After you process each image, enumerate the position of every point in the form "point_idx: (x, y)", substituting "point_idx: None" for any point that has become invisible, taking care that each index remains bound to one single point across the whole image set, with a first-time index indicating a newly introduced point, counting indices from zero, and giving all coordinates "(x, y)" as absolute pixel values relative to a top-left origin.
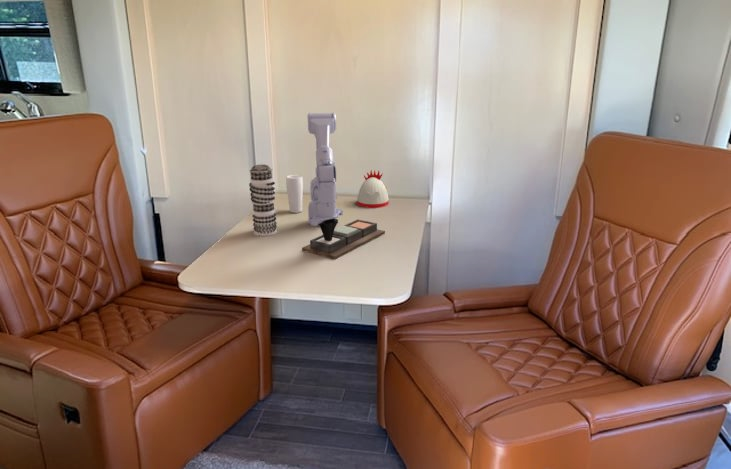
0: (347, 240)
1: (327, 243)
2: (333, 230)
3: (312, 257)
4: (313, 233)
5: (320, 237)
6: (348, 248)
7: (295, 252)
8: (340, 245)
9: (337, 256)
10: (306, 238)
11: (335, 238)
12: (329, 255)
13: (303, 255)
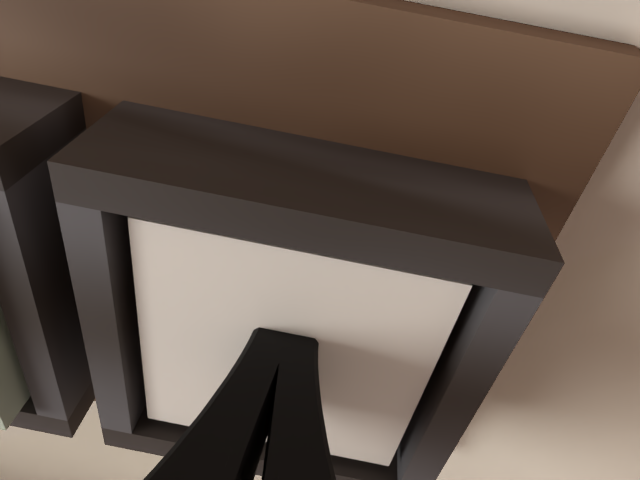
0: (35, 127)
1: (420, 332)
2: (188, 471)
3: (592, 325)
4: (46, 468)
5: None
6: (201, 3)
7: (485, 463)
8: (261, 153)
9: (573, 37)
10: None
11: (158, 307)
12: (589, 166)
13: (547, 403)
